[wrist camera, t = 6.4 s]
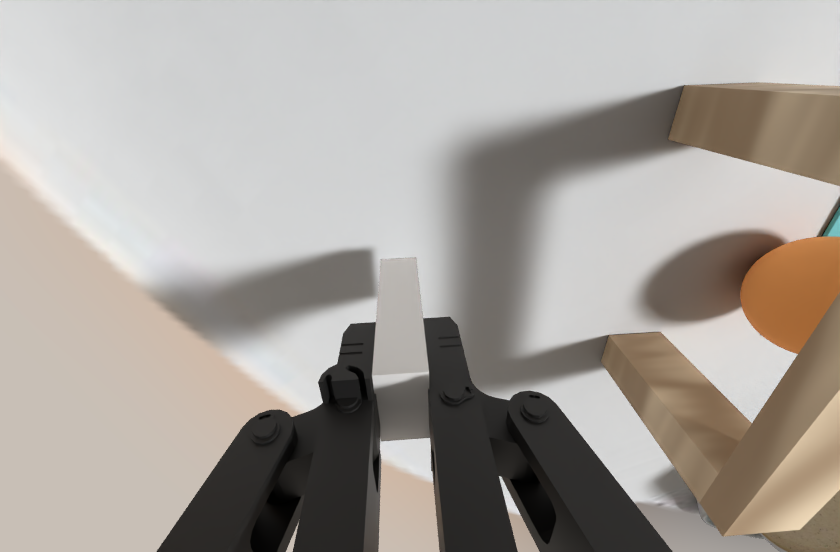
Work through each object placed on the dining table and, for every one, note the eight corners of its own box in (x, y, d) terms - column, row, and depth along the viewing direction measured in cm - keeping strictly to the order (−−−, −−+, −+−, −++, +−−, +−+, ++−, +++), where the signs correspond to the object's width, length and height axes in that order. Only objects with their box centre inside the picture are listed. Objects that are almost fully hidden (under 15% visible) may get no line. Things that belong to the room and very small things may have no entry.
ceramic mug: (800, 422, 26) (938, 547, 19) (842, 460, 29) (974, 580, 22) (669, 490, 30) (745, 612, 23) (717, 517, 33) (797, 633, 26)
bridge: (600, 361, 21) (722, 536, 13) (684, 85, 14) (1062, 110, 6) (650, 358, 21) (799, 529, 14) (758, 82, 14) (1224, 103, 6)
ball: (868, 280, 12) (1024, 285, 12) (749, 213, 17) (864, 217, 17) (774, 384, 16) (900, 388, 16) (695, 305, 20) (792, 308, 20)
